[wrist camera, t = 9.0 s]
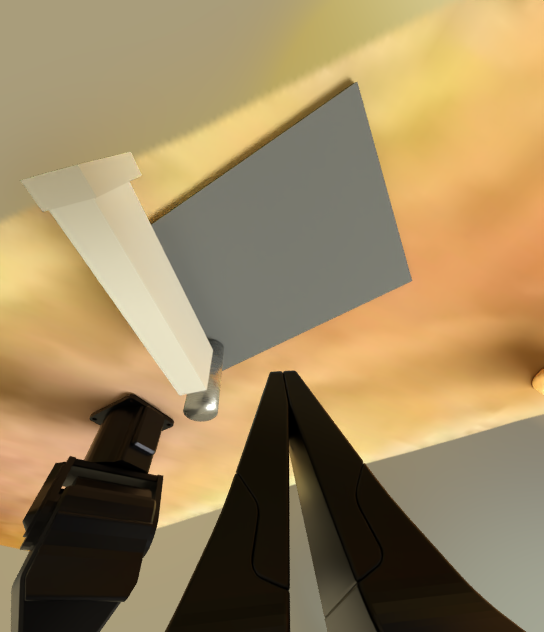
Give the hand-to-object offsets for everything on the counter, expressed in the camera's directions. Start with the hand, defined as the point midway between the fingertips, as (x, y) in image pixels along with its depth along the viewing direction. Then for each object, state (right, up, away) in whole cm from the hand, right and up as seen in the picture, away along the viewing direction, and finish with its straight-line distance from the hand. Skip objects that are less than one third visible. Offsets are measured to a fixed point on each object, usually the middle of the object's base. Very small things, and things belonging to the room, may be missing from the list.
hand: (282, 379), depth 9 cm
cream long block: (-8, +5, +10) cm, 14 cm away
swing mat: (-1, +6, +12) cm, 13 cm away
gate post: (-6, -1, +16) cm, 17 cm away
